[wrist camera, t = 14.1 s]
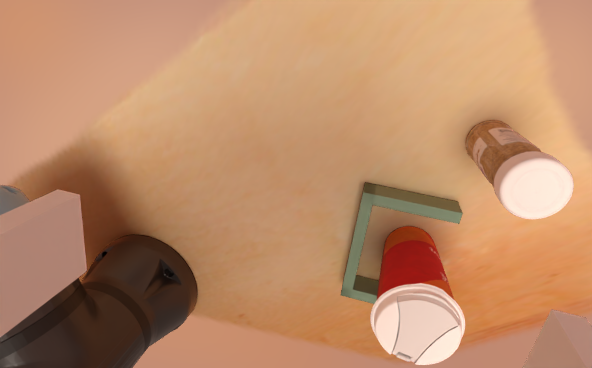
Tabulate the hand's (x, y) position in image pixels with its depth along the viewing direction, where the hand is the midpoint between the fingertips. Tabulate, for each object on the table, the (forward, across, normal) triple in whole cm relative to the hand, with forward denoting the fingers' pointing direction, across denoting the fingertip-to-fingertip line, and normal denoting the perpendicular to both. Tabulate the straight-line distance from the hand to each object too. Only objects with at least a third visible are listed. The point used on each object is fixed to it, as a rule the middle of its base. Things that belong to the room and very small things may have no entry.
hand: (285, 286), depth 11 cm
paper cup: (+32, +8, -15) cm, 36 cm away
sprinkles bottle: (+32, +13, -1) cm, 35 cm away
